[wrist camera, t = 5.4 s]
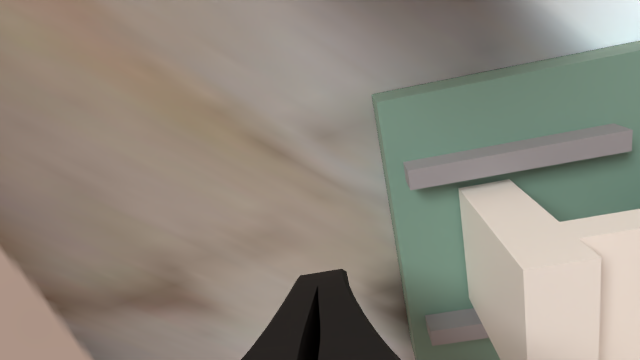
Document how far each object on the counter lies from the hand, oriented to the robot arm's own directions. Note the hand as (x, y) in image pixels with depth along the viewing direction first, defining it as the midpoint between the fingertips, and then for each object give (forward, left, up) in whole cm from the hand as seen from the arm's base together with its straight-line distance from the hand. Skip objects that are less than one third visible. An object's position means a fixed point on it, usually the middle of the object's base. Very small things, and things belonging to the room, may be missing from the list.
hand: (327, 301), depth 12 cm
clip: (-7, 0, -2) cm, 7 cm away
